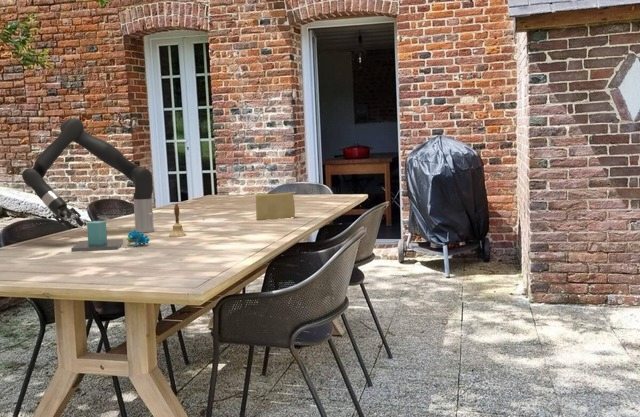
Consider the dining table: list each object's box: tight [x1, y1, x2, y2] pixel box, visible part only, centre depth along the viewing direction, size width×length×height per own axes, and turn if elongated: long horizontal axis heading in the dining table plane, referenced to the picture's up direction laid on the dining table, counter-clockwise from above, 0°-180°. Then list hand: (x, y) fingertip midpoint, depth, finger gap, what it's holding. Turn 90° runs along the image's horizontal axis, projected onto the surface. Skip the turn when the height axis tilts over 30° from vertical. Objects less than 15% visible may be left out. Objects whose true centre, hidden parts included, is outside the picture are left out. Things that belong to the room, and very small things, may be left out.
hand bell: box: [169, 203, 187, 238], centre depth 351 cm, size 8×8×16 cm
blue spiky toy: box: [126, 229, 150, 247], centre depth 324 cm, size 11×6×10 cm
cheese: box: [255, 192, 296, 221], centre depth 405 cm, size 22×10×15 cm, turn 93°
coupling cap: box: [86, 220, 108, 245], centre depth 323 cm, size 6×6×10 cm
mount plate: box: [70, 238, 124, 252], centre depth 323 cm, size 20×20×9 cm
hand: (77, 226), depth 328 cm, fingers open, 8 cm apart
